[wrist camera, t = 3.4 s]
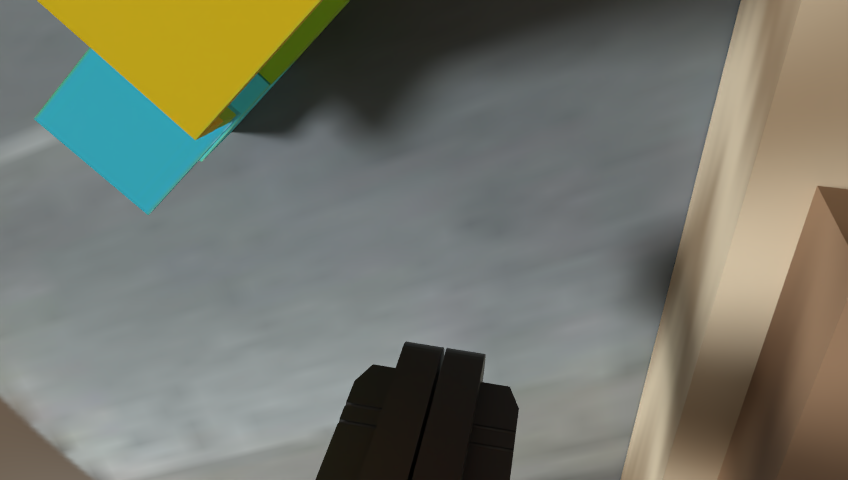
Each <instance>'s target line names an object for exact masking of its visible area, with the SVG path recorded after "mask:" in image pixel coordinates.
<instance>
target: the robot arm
mask: <svg viewBox="0 0 848 480" xmlns="http://www.w3.org/2000/svg"><path fill="white" fill-rule="evenodd" d="M484 366H485V354H481V353H475V352H469V351H462V350H456V349H450V348H447V349H446V352H445V355H444V348H443V347H436V346H430V345H424V344H418V343H411V342H405V343H404V346H403V348H402V351H401V354H400V357H399V360H398V363H397V366H396V368H392V367H386V366H380V365H372V366H371V367H370V368H368V369H367V370H366V371H365V372H364V373H363V374H362V375H361V376H360V377H359V378H357V379H356V380H355V381H354V384H353V386H352V389H351V392H350V394H349V397H348V399H347V402H346V406H345V407H344V409H343V412H342V414H341V417H340V421H339V423H338V424H337V427H336V429H335V432H334V434H333V437H332V439H331V442H330V444H329V447H328V450H327V452H326V455H325V457H324V460H323V462H322V465H321V467H320V470H319V472H318V475H317V477H316V480H510V474H511V466H512V458H513V450H514V442H515V434H516V426H517V418H518V410H519V408H518V406H517V403H516V401H515V398H514V396H513V394H512V391H511V389H510V387H508V386H502V385H496V384H490V383H484V382H483V374H484Z"/></svg>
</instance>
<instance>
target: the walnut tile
mask: <svg viewBox="0 0 848 480" xmlns="http://www.w3.org/2000/svg"><path fill="white" fill-rule="evenodd" d="M717 480H848V189H841V188H832V187H824V186H817V188H816V191H815V193H814V196H813V199H812V202H811V205H810V208H809V211H808V214H807V217H806V220H805V223H804V226H803V229H802V232H801V235H800V238H799V240H798V243H797V246H796V249H795V252H794V255H793V258H792V261H791V264H790V267H789V270H788V273H787V276H786V279H785V282H784V285H783V287H782V290H781V293H780V296H779V299H778V302H777V305H776V308H775V311H774V314H773V317H772V320H771V323H770V326H769V329H768V332H767V334H766V337H765V340H764V343H763V346H762V349H761V352H760V355H759V358H758V361H757V364H756V367H755V370H754V373H753V376H752V379H751V381H750V384H749V387H748V390H747V393H746V396H745V399H744V402H743V405H742V408H741V411H740V414H739V417H738V420H737V423H736V426H735V428H734V431H733V434H732V437H731V440H730V443H729V446H728V449H727V452H726V455H725V458H724V461H723V464H722V467H721V470H720V473H719V475H718V478H717Z"/></svg>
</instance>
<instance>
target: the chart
mask: <svg viewBox="0 0 848 480" xmlns="http://www.w3.org/2000/svg"><path fill="white" fill-rule="evenodd" d="M37 1H38V2H39V3H41V4H42V5H43V6H44V7H45V8H46V9H47V10H49V11H50V12H51V13H52V14H53V15H54V16H55V17H56V18H58V19H59V20H60V21H61V22H62V23H63V24H64V25H65V26H67V27H68V28H69V29H70V30H71V31H72V32H73V33H74V34H76V35H77V36H78V37H79V38H80V39H81V40H82V41H84V42H85V43H86V44H87V45H88V46H89V47H90V48H89V49H88V50H87V52H86V53H85V54H84V55H83V57H82V58H81V59H80V61H79V62H78V63H77V64H76V66H75V67H74V68H73V70H72V71H71V72H70V73H69V75H68V76H67V77H66V78H65V80H64V81H63V82H62V84H61V85H60V86H59V87H58V89H57V90H56V91H55V92H54V94H53V95H52V96H51V98H50V99H49V100H48V101H47V103H46V104H45V105H44V106H43V108H42V109H41V110H40V112H39V113H38V114H37V115H36V117H35V118H34V119H35V120H36V121H37V122H38V123H39V124H40V125H42V126H43V127H44V128H45V129H46V130H48V131H49V132H50V133H51V134H52V135H54V136H55V137H56V138H57V139H58V140H59V141H61V142H62V143H63V144H64V145H65V146H67V147H68V148H69V149H70V150H71V151H73V152H74V153H75V154H76V155H77V156H78V157H80V158H81V159H82V160H83V161H84V162H86V163H87V164H88V165H89V166H90V167H92V168H93V169H94V170H95V171H96V172H98V173H99V174H100V175H101V176H102V177H103V178H105V179H106V180H107V181H108V182H109V183H111V184H112V185H113V186H114V187H115V188H117V189H118V190H119V191H120V192H121V193H122V194H124V195H125V196H126V197H127V198H128V199H130V200H131V201H132V202H133V203H134V204H136V205H137V206H138V207H139V208H140V209H141V210H143V211H144V212H145V213H146V214H147V215H149V214H150V213H151V212H152V211H153V210H154V209H155V208H156V207H157V206H158V205H159V204H160V203H161V202H162V200H163V199H164V198H165V197H166V196H167V195H168V194H169V193H170V192H171V191H172V189H173V188H174V187H175V186H176V185H177V184H178V183H179V182H180V181H181V180H182V178H183V177H184V176H185V175H186V174H187V173H188V172H189V171H190V170H191V169H192V167H193V166H194V165H195V164H196V163H197V162H198V161H199V160H200V161H201V162H202V161H203V160H204V159H205V158H206V157H207V156H208V155H209V154H210V153H211V152H212V151H213V150H214V149H215V148H216V147H217V146H218V145H219V144H220V143H221V142H222V141H223V140H224V139H225V138H226V137H227V136H228V135H229V134H230V133H231V132H232V131H233V130H234V129H235V127H236V126H237V125H238V124H239V123H240V122H241V121H242V120H243V119H244V117H245V116H246V115H247V114H248V113H249V112H250V111H251V110H252V109H253V107H254V106H255V105H256V104H257V103H258V102H259V101H260V100H261V99H262V98H263V96H264V95H265V94H266V93H267V92H268V91H269V90H270V89H271V88H272V86H273V85H274V84H275V83H276V82H277V81H278V80H279V79H280V78H281V76H282V75H283V74H284V73H285V72H286V71H287V70H288V69H289V68H290V67H291V65H292V64H293V63H294V62H295V61H296V60H297V59H298V58H299V57H300V55H301V54H302V53H303V52H304V51H305V50H306V49H307V48H308V47H309V45H310V44H311V43H312V42H313V41H314V40H315V39H316V38H317V37H318V35H319V34H320V33H321V32H322V31H323V30H324V29H325V28H326V27H327V26H328V24H329V23H330V22H331V21H332V20H333V19H334V18H335V17H336V16H337V14H338V13H339V12H340V11H341V10H342V9H343V8H344V7H345V6H346V4H347V3H348V2H349V1H350V0H37Z"/></svg>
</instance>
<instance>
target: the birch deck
mask: <svg viewBox="0 0 848 480" xmlns="http://www.w3.org/2000/svg"><path fill="white" fill-rule="evenodd" d="M817 186H824V187H832V188H841V189H848V0H741V2H740V6H739V10H738V14H737V18H736V22H735V26H734V30H733V34H732V38H731V42H730V46H729V50H728V54H727V58H726V62H725V66H724V70H723V74H722V78H721V82H720V86H719V90H718V94H717V98H716V102H715V106H714V110H713V114H712V118H711V122H710V126H709V130H708V134H707V137H706V141H705V145H704V149H703V153H702V157H701V161H700V165H699V169H698V173H697V177H696V181H695V185H694V189H693V193H692V197H691V201H690V205H689V209H688V213H687V217H686V221H685V225H684V229H683V233H682V237H681V241H680V245H679V249H678V253H677V257H676V261H675V265H674V269H673V273H672V277H671V281H670V285H669V289H668V293H667V297H666V301H665V305H664V309H663V313H662V317H661V321H660V325H659V329H658V333H657V337H656V341H655V345H654V349H653V353H652V357H651V361H650V365H649V369H648V373H647V377H646V381H645V385H644V389H643V393H642V397H641V401H640V405H639V409H638V413H637V417H636V421H635V425H634V428H633V432H632V436H631V440H630V444H629V448H628V452H627V456H626V460H625V464H624V468H623V472H622V476H621V480H717V478H718V475H719V473H720V470H721V467H722V464H723V461H724V458H725V455H726V452H727V449H728V446H729V443H730V440H731V437H732V434H733V431H734V428H735V426H736V423H737V420H738V417H739V414H740V411H741V408H742V405H743V402H744V399H745V396H746V393H747V390H748V387H749V384H750V381H751V379H752V376H753V373H754V370H755V367H756V364H757V361H758V358H759V355H760V352H761V349H762V346H763V343H764V340H765V337H766V334H767V332H768V329H769V326H770V323H771V320H772V317H773V314H774V311H775V308H776V305H777V302H778V299H779V296H780V293H781V290H782V287H783V285H784V282H785V279H786V276H787V273H788V270H789V267H790V264H791V261H792V258H793V255H794V252H795V249H796V246H797V243H798V240H799V238H800V235H801V232H802V229H803V226H804V223H805V220H806V217H807V214H808V211H809V208H810V205H811V202H812V199H813V196H814V193H815V191H816V188H817Z"/></svg>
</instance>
